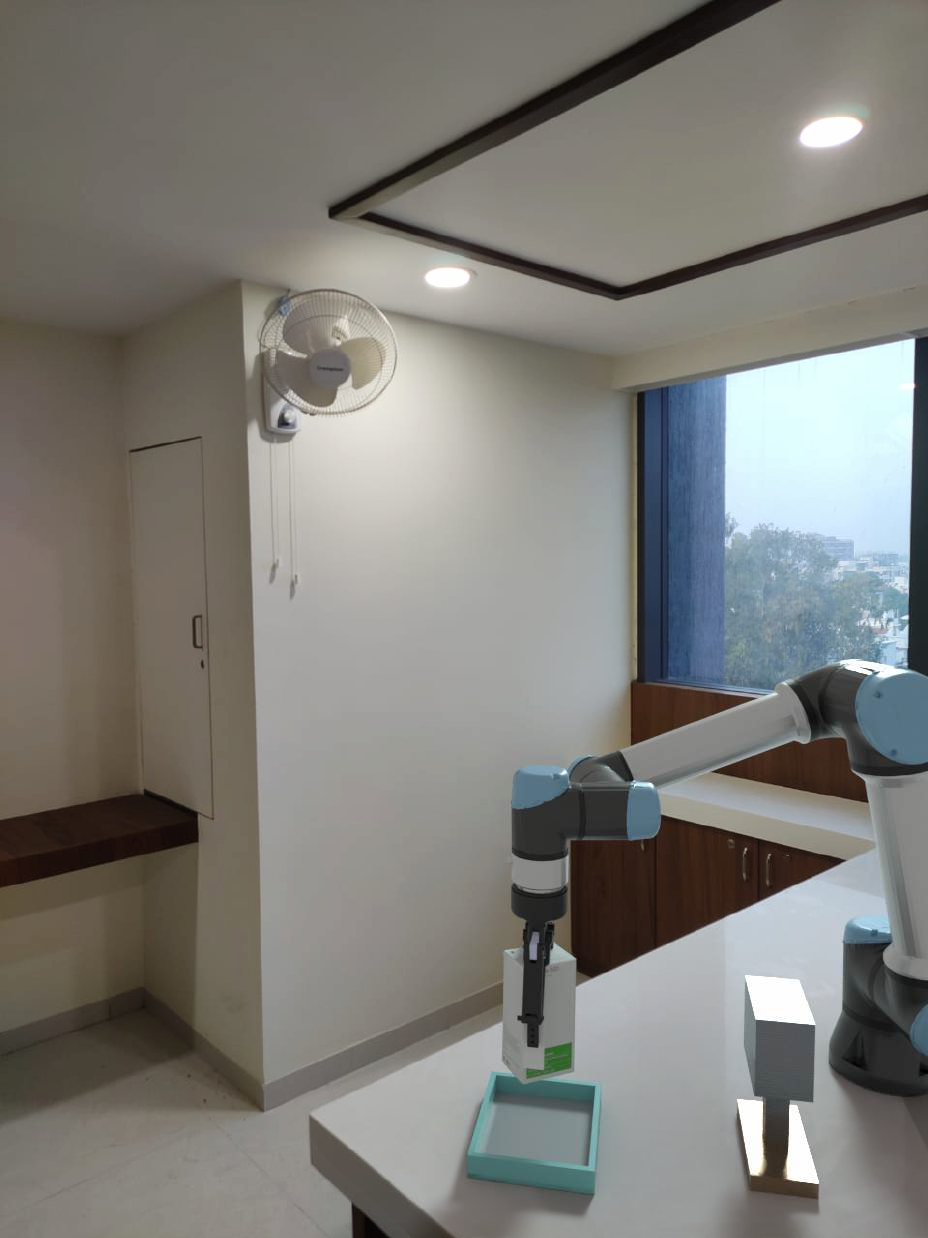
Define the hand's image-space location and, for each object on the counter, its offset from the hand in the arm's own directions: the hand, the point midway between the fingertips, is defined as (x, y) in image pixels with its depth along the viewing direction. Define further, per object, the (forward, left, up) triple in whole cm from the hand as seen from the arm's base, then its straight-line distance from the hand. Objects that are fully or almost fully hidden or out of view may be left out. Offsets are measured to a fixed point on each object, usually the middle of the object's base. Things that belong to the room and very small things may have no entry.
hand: (538, 1046), depth 121 cm
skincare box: (0, 0, -3) cm, 3 cm away
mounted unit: (-31, -3, -13) cm, 34 cm away
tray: (0, 0, -13) cm, 13 cm away
